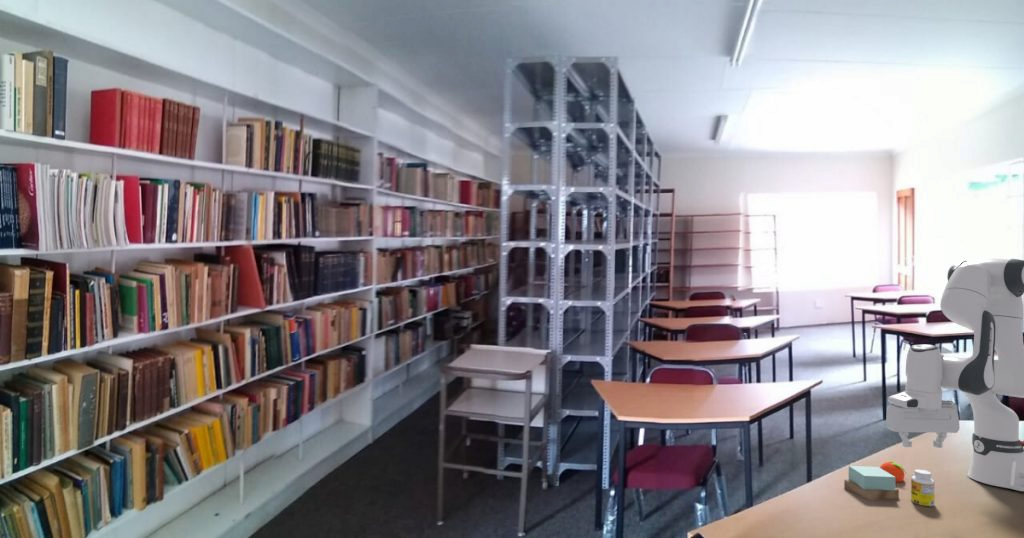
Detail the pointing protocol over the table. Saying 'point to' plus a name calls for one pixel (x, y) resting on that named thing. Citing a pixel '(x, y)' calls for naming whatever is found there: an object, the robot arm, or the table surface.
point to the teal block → (871, 478)
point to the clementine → (894, 470)
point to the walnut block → (871, 491)
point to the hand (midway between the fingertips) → (922, 446)
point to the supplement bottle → (922, 489)
